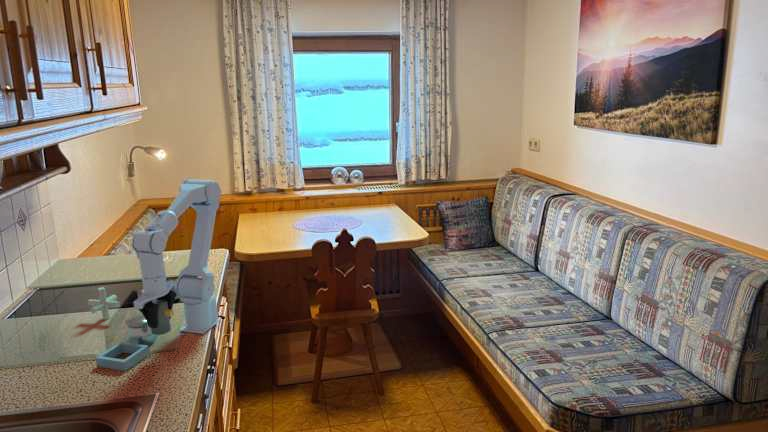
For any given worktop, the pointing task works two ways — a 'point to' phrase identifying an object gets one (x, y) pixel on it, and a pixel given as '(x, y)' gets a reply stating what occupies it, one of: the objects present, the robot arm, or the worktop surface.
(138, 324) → the motor
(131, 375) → the worktop surface
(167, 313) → the dark grey rounded cylinder
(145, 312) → the robot arm
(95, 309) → the pipe connector
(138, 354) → the light blue shallow tray
